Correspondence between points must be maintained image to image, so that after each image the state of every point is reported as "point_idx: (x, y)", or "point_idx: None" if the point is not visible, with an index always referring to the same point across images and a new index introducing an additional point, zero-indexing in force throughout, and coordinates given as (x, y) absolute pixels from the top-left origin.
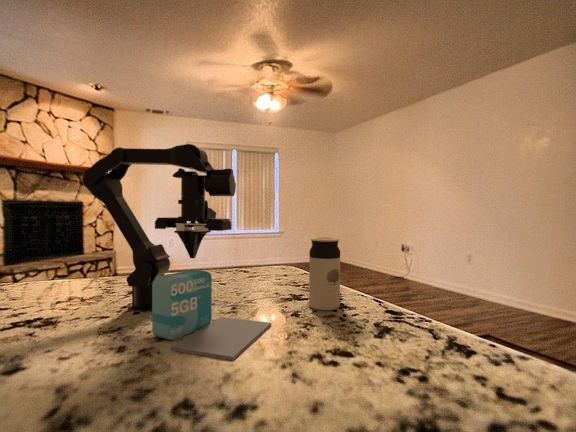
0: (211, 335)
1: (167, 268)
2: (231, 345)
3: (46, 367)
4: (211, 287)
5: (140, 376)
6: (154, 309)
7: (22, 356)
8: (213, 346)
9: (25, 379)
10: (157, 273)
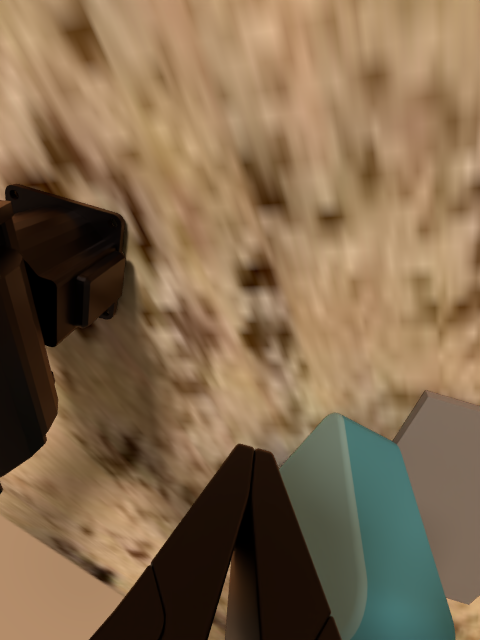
0: None
1: (23, 301)
2: (466, 569)
3: (139, 574)
4: (435, 565)
5: None
6: None
7: (65, 542)
8: None
9: None
10: (54, 412)
